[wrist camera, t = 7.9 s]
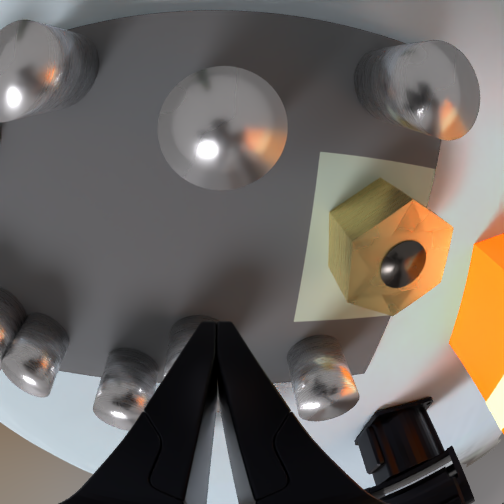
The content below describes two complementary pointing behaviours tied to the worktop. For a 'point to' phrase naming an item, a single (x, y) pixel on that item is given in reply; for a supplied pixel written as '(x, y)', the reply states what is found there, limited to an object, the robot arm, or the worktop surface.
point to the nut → (386, 248)
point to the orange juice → (484, 324)
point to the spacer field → (213, 186)
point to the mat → (198, 194)
